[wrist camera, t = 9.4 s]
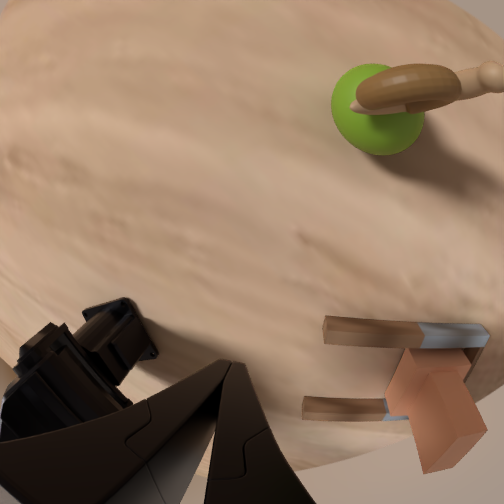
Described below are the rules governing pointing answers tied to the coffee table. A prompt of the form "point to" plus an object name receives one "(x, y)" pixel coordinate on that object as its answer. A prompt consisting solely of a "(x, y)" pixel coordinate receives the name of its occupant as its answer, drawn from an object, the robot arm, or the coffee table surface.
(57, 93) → the coffee table surface
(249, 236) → the coffee table surface
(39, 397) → the robot arm
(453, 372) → the block
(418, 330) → the beam slot
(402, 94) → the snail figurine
